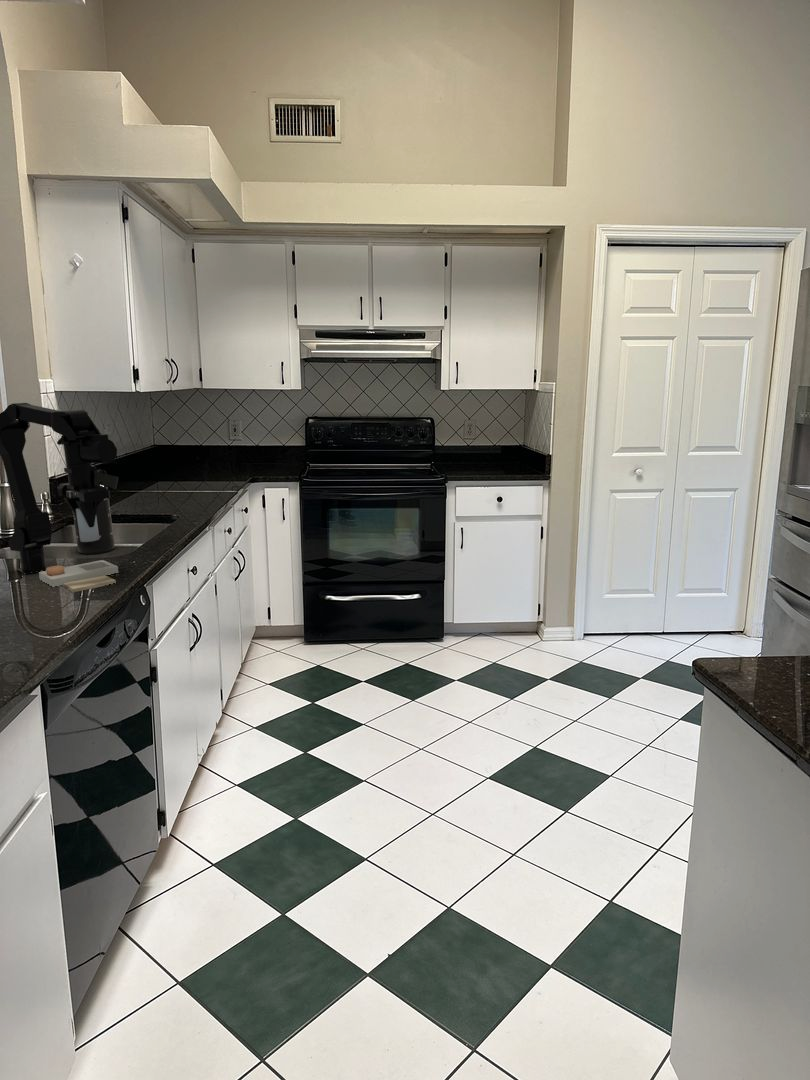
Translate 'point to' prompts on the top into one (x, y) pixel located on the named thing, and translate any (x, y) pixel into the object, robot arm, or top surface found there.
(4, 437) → the robot arm
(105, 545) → the black cylindrical canister
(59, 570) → the plunger
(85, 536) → the cylinder
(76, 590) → the pad
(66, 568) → the white tray
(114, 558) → the top surface
